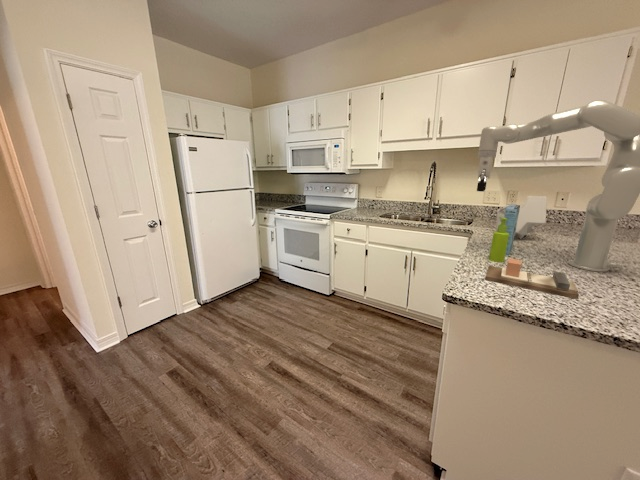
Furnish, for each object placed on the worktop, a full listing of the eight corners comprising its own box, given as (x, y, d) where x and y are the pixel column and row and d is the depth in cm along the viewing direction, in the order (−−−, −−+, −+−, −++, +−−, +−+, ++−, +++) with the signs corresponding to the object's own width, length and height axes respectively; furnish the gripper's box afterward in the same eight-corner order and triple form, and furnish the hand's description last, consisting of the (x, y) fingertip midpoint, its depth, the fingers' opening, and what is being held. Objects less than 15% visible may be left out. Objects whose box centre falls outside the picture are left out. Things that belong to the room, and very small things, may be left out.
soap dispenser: (500, 258, 125) (509, 216, 120) (505, 262, 119) (514, 219, 114) (486, 256, 127) (494, 216, 122) (490, 261, 121) (498, 218, 115)
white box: (504, 236, 154) (506, 195, 155) (493, 239, 169) (495, 201, 171) (545, 239, 149) (546, 196, 151) (529, 241, 165) (531, 202, 166)
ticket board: (570, 284, 97) (573, 274, 96) (577, 299, 86) (581, 287, 85) (488, 269, 111) (489, 259, 110) (485, 279, 101) (487, 269, 99)
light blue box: (508, 255, 129) (518, 209, 123) (496, 253, 132) (505, 208, 126) (512, 247, 143) (521, 205, 137) (501, 245, 146) (509, 204, 140)
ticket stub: (526, 273, 102) (529, 260, 101) (527, 282, 94) (530, 267, 93) (501, 269, 107) (504, 256, 105) (500, 277, 99) (503, 263, 98)
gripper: (496, 153, 117) (489, 192, 122) (496, 155, 131) (490, 189, 136) (476, 154, 121) (470, 191, 126) (479, 155, 135) (473, 189, 140)
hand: (481, 190), depth 131 cm, fingers open, 9 cm apart
